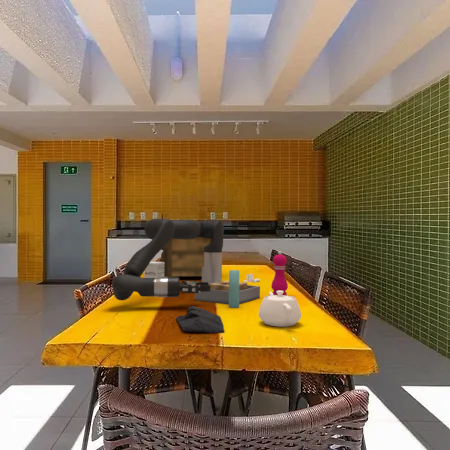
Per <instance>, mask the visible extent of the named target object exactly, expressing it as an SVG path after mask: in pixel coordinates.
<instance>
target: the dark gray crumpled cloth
mask: <svg viewBox="0 0 450 450" xmlns="http://www.w3.org/2000/svg"><path fill="white" fill-rule="evenodd" d="M175 319H176V321H177V323H178V325H179V326H180V327H181V329H182V330H183V331H185V332H186V333H204V334H223V333H225V328H224V323H223V319H222V318H221V315H218V314H216V313H212V312H211V311H208V310H206V309H204V308H202V307H196V306H193V305H190V306H189V307H188V309H187V310H186V314H184V315H179V316H176V317H175Z"/></svg>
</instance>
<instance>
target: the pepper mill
mask: <svg viewBox="0 0 450 450" xmlns="http://www.w3.org/2000/svg"><path fill="white" fill-rule="evenodd" d="M287 262H288V260H287V257H286V256H285V255H284V254H283V253H282V251H281V250H279V251H278V252H277V254H276V255H275V256H273V259H272V263H273V264H274V266H273V269H274V278H273V279H272V281H271V286H270V287H271V290H273V291H271V292H272V293H273V295H278V294H277V292H276V291H284V293H283V294H282V295H286V296H288V295H287V294H288V292H287V290H288V288H289V286H288V282H287V279H286V276H285V270H286V264H287Z"/></svg>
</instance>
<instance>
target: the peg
mask: <svg viewBox="0 0 450 450" xmlns="http://www.w3.org/2000/svg"><path fill="white" fill-rule="evenodd" d="M228 281H229V304H228V308H231V309H237V308H238V309H239V308H240V304H239V282H240V270H237V269H230V270H229V271H228Z"/></svg>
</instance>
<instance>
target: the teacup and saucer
mask: <svg viewBox="0 0 450 450" xmlns="http://www.w3.org/2000/svg"><path fill="white" fill-rule="evenodd" d="M249 281H250V282H249ZM251 281H252V282H253V283H258V282H260V281H261V279H260V278H254V274H253V273H249V274H246V275H245V280H243V283H247V282H249V283H252V282H251Z"/></svg>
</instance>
